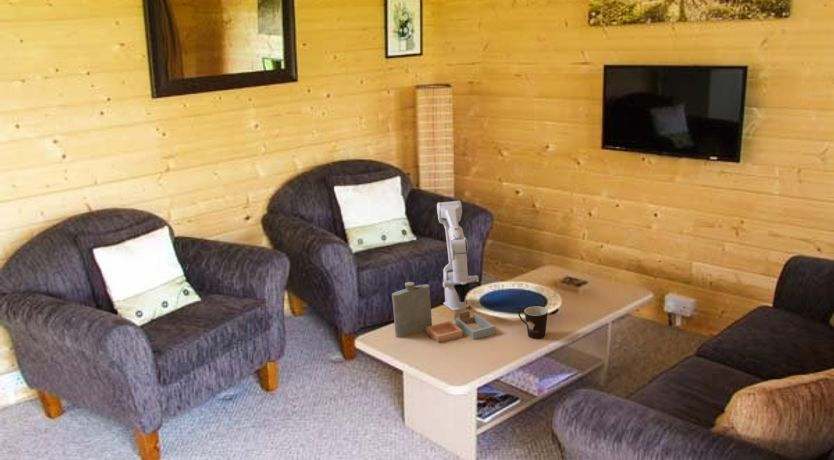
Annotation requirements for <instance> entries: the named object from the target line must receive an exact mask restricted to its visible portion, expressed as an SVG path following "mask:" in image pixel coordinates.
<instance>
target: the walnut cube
mask: <svg viewBox="0 0 834 460" xmlns="http://www.w3.org/2000/svg"><path fill="white" fill-rule="evenodd" d="M453 312H454V315H453V316H454V320H455V319H456V318H459V319H460V320H461V321H463V322H464V323H465V324H466V323H468V322H471V315H470V313H471V312H470V310H469V309H468V308H465V307H463V308H459V309H455V310H454V311H453Z"/></svg>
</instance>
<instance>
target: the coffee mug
mask: <svg viewBox="0 0 834 460" xmlns="http://www.w3.org/2000/svg"><path fill="white" fill-rule="evenodd" d="M521 312H523V313H524V318H525V320H524V319H523V318H522V316H521ZM548 313H549V312H548V308H546V307H544V306H537V305H535V306H529V307H526V308H525V309H521V310H518V313H517V314H518V318H519V319H520V320H521V321H522V322H523V323H524V324H525V325H526V330H527V336H528V338H530V339H533V340H541V339H544V338H545V337H546V332H547V323H548Z"/></svg>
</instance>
